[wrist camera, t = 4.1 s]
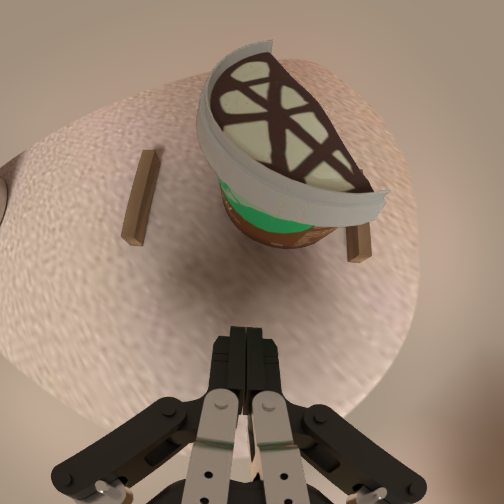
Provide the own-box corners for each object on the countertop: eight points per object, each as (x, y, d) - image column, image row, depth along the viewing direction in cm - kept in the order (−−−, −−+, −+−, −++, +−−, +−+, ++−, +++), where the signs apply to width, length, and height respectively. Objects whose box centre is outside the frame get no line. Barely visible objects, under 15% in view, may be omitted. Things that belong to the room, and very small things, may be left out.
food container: (186, 153, 21) (167, 55, 12) (254, 132, 22) (268, 36, 13) (244, 295, 18) (259, 257, 9) (323, 261, 20) (397, 201, 10)
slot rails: (130, 245, 19) (120, 236, 17) (148, 163, 21) (142, 150, 19) (359, 262, 20) (371, 255, 18) (353, 181, 22) (362, 169, 20)
